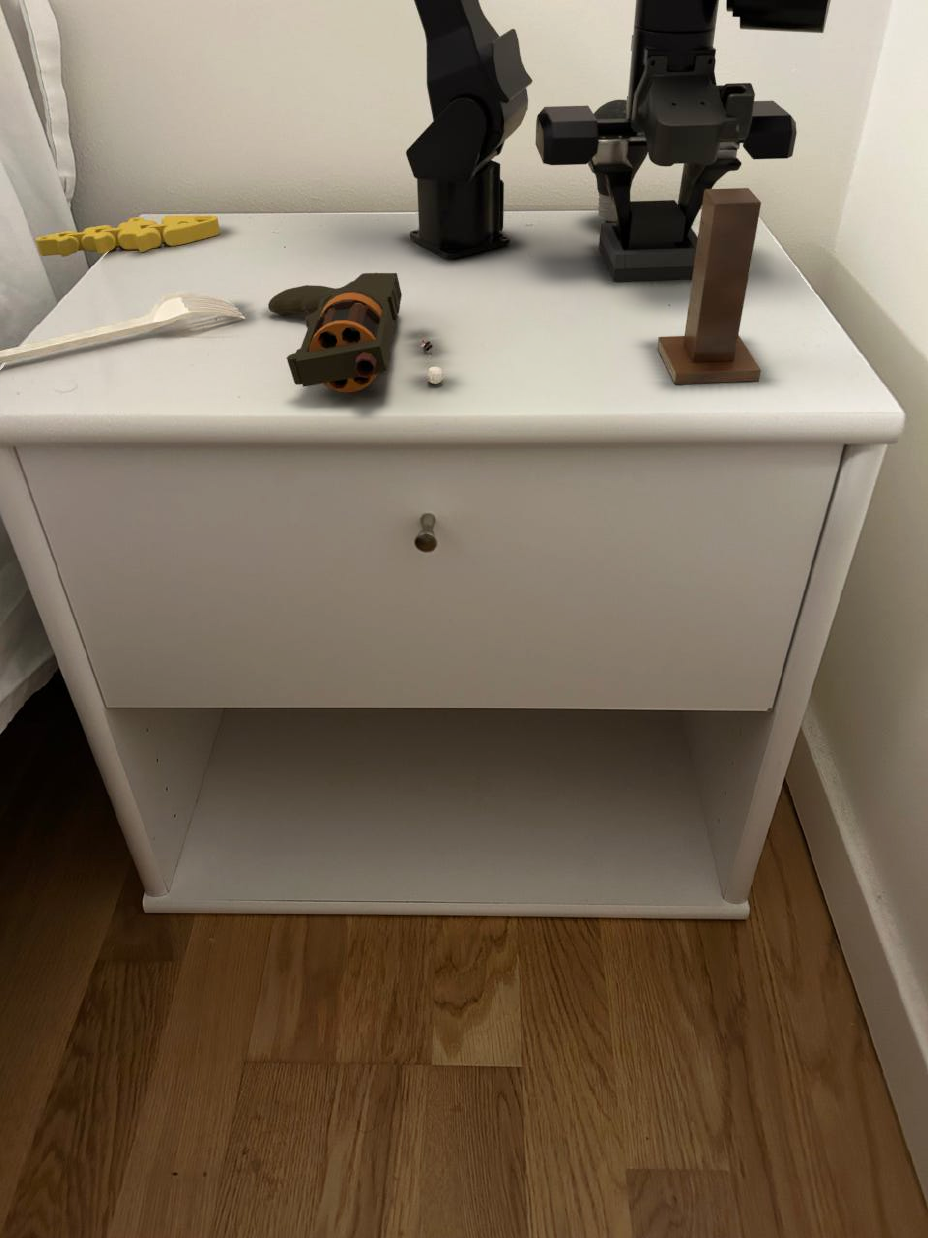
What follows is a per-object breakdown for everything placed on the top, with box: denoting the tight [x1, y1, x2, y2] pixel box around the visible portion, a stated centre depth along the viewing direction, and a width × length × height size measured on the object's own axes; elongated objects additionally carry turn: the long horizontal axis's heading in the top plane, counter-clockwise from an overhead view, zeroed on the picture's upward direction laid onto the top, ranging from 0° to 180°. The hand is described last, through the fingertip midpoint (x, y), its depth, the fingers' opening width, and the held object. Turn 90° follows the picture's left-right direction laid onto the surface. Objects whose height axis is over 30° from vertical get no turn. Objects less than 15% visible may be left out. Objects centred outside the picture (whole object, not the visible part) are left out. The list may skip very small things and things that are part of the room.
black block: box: [630, 199, 686, 244], centre depth 80 cm, size 4×4×2 cm
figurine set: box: [417, 332, 444, 385], centre depth 69 cm, size 1×8×1 cm
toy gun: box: [267, 272, 403, 393], centre depth 69 cm, size 5×17×10 cm
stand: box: [656, 187, 762, 385], centre depth 65 cm, size 6×6×11 cm
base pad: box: [598, 222, 698, 283], centre depth 82 cm, size 7×7×2 cm
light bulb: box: [593, 99, 648, 223], centre depth 87 cm, size 6×6×10 cm
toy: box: [35, 214, 221, 258], centre depth 87 cm, size 15×1×5 cm
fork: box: [0, 291, 246, 364], centre depth 71 cm, size 3×20×2 cm, turn 120°
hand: (650, 246), depth 82 cm, fingers closed on black block, 4 cm apart
